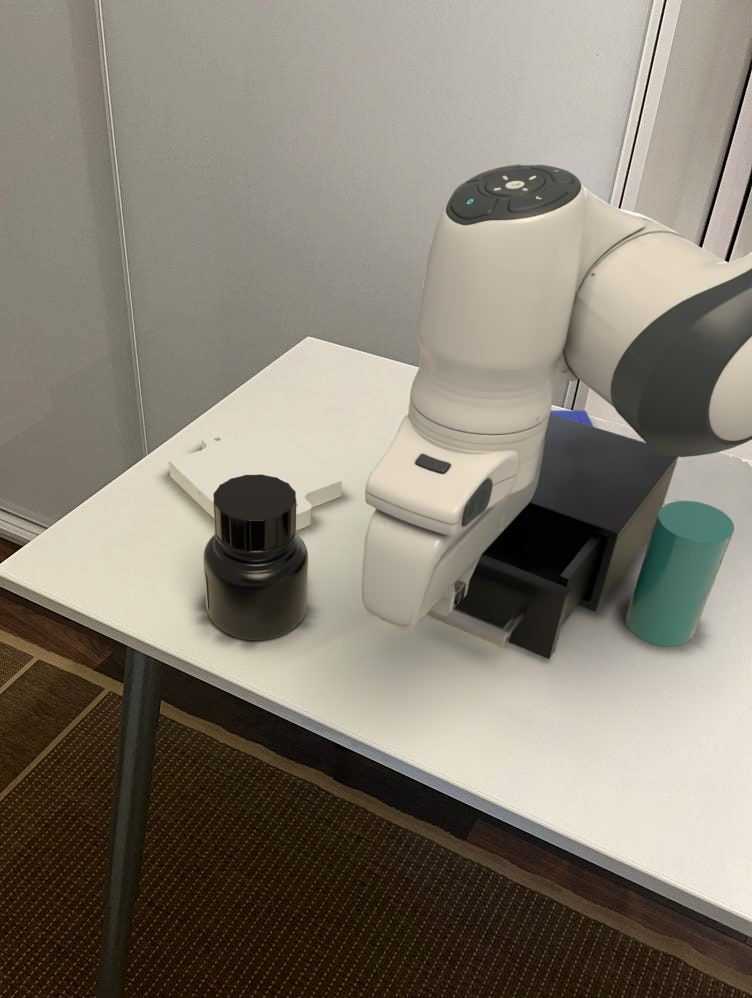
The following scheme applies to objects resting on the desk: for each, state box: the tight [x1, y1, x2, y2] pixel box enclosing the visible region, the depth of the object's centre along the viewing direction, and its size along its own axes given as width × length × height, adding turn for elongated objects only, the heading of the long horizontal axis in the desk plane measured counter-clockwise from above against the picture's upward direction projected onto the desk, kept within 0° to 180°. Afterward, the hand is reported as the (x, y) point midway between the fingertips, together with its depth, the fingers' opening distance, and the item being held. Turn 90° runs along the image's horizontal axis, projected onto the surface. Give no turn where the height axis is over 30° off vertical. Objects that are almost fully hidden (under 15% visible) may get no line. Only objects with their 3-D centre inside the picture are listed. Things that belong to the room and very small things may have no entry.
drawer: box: [425, 508, 607, 660], centre depth 84 cm, size 19×12×7 cm, turn 145°
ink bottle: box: [203, 474, 309, 641], centre depth 83 cm, size 10×9×12 cm
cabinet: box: [525, 414, 679, 613], centre depth 91 cm, size 16×14×9 cm
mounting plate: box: [168, 426, 343, 532], centre depth 101 cm, size 18×13×2 cm
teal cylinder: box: [625, 500, 735, 647], centre depth 82 cm, size 6×6×11 cm
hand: (446, 603), depth 73 cm, fingers closed
